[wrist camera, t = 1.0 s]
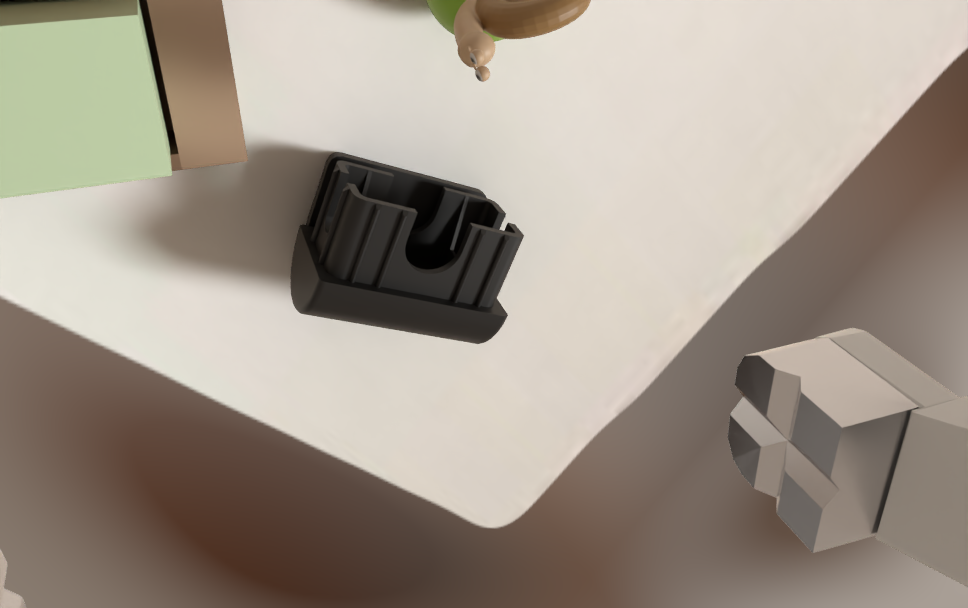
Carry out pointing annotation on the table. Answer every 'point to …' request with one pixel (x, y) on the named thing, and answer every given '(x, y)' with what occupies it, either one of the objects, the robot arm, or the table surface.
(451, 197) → the end cap
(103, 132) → the sage key
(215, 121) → the key panel
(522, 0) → the snail figurine
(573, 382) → the table surface
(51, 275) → the table surface
